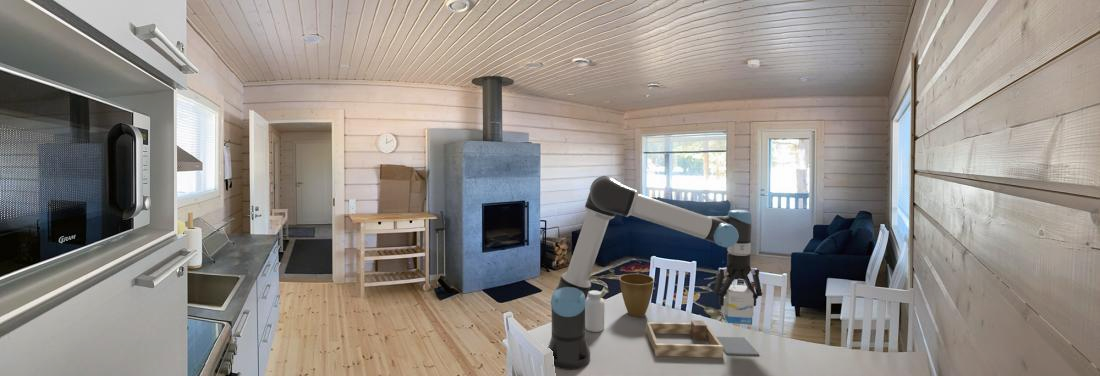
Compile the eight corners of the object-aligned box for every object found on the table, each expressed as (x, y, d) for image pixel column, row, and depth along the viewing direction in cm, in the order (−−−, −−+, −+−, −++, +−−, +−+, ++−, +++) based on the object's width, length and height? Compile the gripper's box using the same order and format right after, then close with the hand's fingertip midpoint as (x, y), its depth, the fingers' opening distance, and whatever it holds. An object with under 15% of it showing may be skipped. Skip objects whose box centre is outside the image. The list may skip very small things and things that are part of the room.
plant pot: (618, 307, 188) (618, 273, 187) (650, 308, 187) (651, 273, 185) (620, 320, 173) (620, 283, 172) (656, 321, 172) (656, 284, 170)
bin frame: (655, 355, 143) (655, 344, 142) (646, 332, 161) (646, 322, 161) (723, 357, 141) (723, 346, 141) (705, 333, 160) (706, 323, 159)
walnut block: (694, 340, 154) (694, 325, 154) (690, 335, 158) (691, 320, 158) (706, 340, 154) (706, 325, 153) (702, 335, 158) (703, 320, 158)
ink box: (752, 325, 143) (753, 292, 142) (727, 323, 145) (728, 291, 144) (746, 315, 151) (747, 284, 150) (722, 314, 153) (722, 283, 152)
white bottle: (607, 326, 167) (607, 291, 165) (599, 334, 160) (599, 297, 159) (590, 322, 171) (590, 287, 170) (581, 329, 164) (581, 293, 163)
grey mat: (726, 354, 143) (726, 353, 143) (714, 338, 156) (714, 336, 156) (759, 355, 142) (759, 354, 142) (744, 338, 155) (744, 337, 155)
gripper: (711, 255, 143) (710, 317, 145) (775, 256, 141) (772, 318, 143) (704, 250, 150) (703, 309, 152) (765, 250, 149) (763, 310, 151)
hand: (737, 314), depth 148 cm, fingers closed on ink box, 9 cm apart
